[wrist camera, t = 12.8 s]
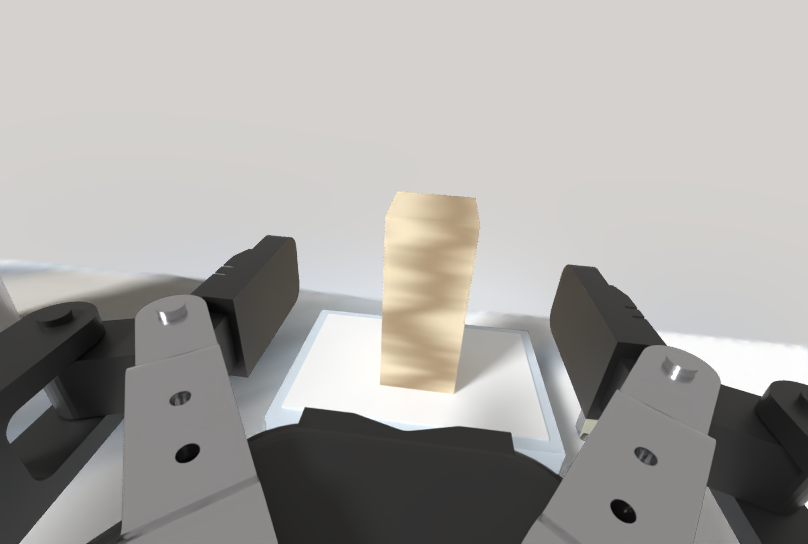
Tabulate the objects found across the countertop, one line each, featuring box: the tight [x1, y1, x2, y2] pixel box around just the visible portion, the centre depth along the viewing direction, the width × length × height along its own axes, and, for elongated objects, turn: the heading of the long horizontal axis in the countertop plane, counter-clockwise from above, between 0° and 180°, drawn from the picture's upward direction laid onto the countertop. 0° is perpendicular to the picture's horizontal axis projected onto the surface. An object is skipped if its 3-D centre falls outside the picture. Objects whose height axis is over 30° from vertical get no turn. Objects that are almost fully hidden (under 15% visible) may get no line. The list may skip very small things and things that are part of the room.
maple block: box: [380, 191, 480, 394], centre depth 25 cm, size 5×5×12 cm
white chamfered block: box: [265, 310, 566, 474], centre depth 29 cm, size 18×12×4 cm, turn 84°
